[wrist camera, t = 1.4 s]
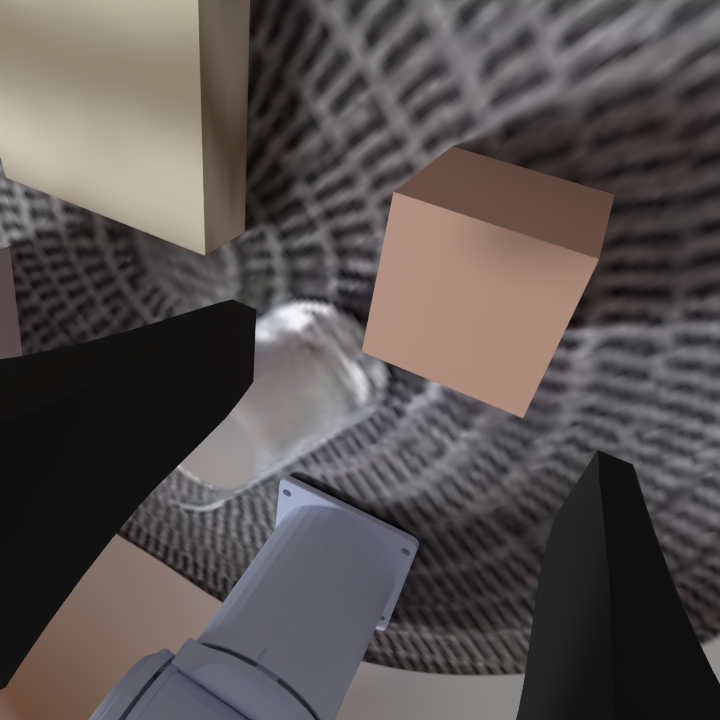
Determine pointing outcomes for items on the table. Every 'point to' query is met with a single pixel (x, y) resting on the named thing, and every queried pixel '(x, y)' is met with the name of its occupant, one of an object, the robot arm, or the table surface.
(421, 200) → the terracotta cube
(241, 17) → the birch block
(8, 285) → the greeting card
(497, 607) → the table surface
